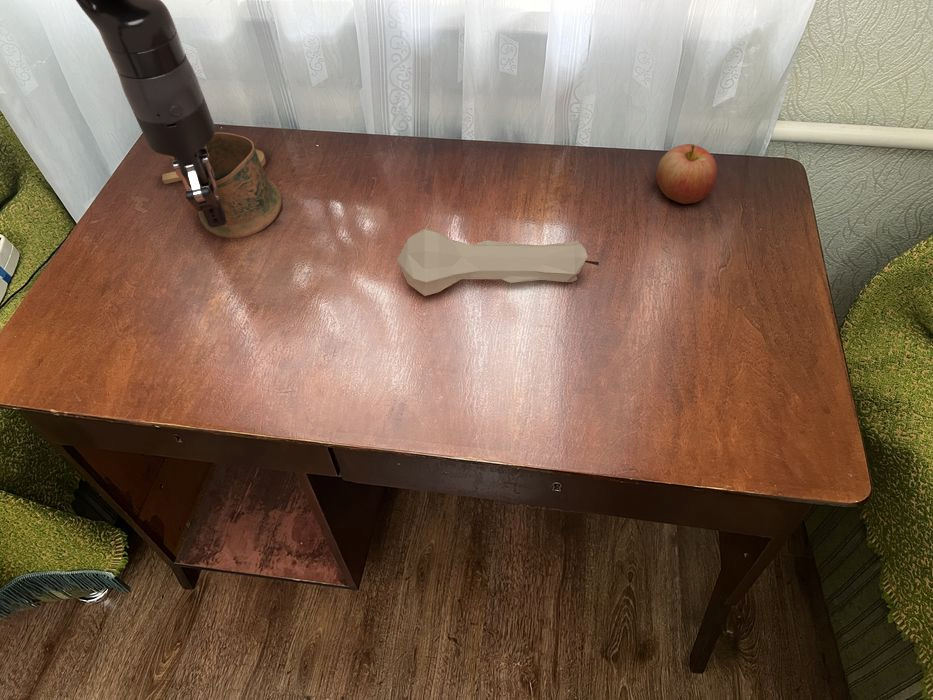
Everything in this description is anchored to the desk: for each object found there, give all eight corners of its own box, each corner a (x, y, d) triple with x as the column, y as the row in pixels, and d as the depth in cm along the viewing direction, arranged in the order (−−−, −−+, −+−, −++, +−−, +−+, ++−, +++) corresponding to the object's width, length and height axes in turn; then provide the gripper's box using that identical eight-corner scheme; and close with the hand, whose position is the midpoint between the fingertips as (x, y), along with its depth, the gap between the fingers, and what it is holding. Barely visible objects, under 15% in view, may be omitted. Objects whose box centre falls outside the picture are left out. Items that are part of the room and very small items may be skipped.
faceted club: (399, 252, 91) (589, 249, 92) (399, 310, 88) (595, 307, 88) (395, 213, 83) (602, 211, 84) (394, 276, 80) (610, 273, 80)
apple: (655, 173, 101) (666, 125, 95) (712, 182, 100) (726, 133, 93) (648, 208, 96) (658, 159, 90) (707, 217, 95) (722, 169, 89)
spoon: (164, 190, 102) (162, 184, 102) (163, 172, 105) (161, 167, 104) (267, 168, 105) (265, 162, 104) (263, 152, 108) (262, 146, 107)
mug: (202, 153, 104) (170, 86, 94) (297, 193, 99) (274, 127, 89) (150, 204, 99) (110, 140, 89) (247, 249, 94) (217, 186, 84)
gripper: (130, 76, 79) (184, 197, 92) (133, 142, 71) (192, 264, 84) (197, 63, 80) (241, 185, 93) (207, 126, 72) (254, 249, 85)
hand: (218, 222), depth 89 cm, fingers closed
